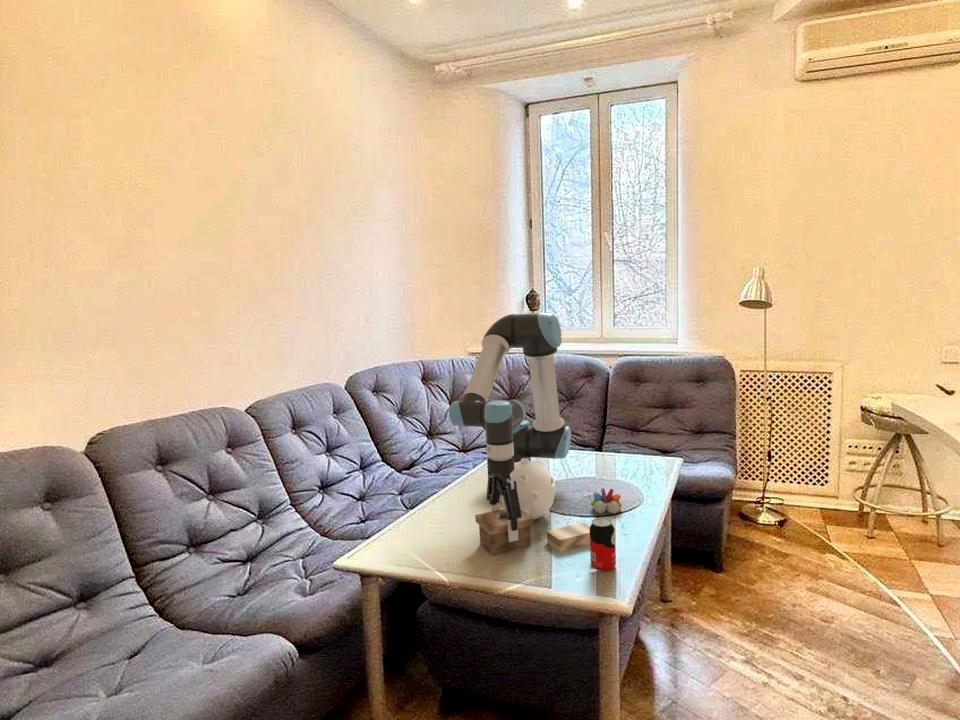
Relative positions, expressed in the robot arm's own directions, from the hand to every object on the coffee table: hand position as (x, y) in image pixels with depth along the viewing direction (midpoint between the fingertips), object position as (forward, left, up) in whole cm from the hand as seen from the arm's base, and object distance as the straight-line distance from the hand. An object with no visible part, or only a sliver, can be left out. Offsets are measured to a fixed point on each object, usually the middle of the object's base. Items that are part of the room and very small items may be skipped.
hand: (504, 533), depth 166 cm
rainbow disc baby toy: (-8, +40, -4) cm, 41 cm away
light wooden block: (+8, +17, -4) cm, 19 cm away
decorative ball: (-14, +15, -4) cm, 21 cm away
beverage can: (+23, +17, -4) cm, 29 cm away
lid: (0, 0, +3) cm, 3 cm away
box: (0, 0, -4) cm, 4 cm away
